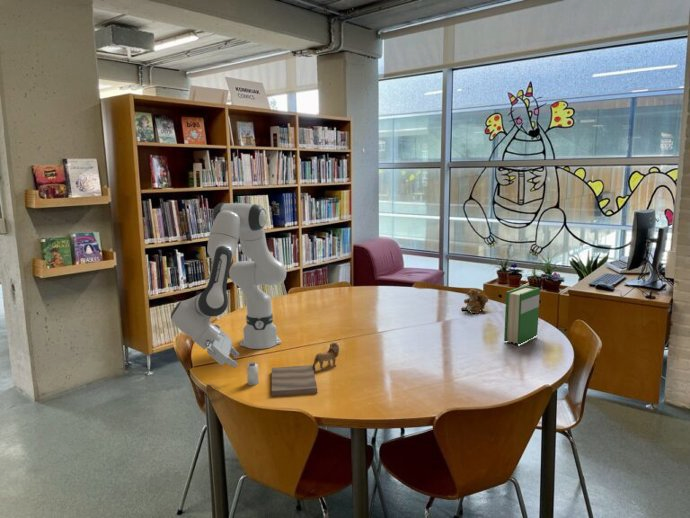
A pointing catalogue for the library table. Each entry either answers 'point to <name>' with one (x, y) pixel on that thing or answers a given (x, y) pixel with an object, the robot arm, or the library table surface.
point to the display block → (293, 380)
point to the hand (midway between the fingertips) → (237, 361)
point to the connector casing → (252, 373)
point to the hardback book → (521, 314)
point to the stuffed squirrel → (475, 301)
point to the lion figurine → (327, 356)
